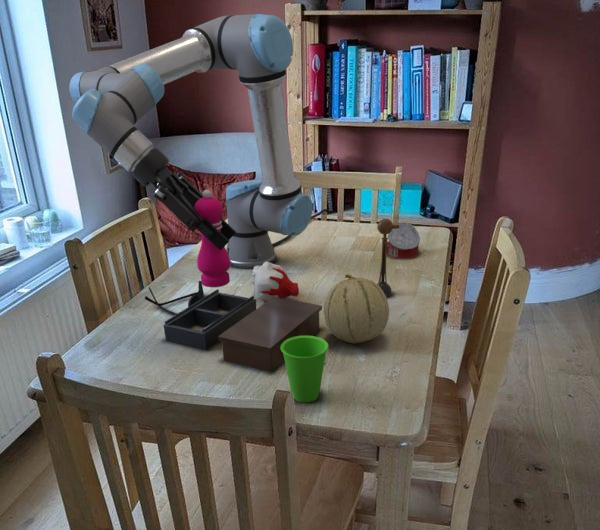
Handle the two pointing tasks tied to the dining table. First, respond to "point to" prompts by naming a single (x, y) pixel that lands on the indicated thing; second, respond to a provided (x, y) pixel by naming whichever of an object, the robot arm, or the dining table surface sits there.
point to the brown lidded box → (268, 332)
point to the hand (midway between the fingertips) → (228, 241)
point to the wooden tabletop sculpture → (385, 228)
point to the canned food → (403, 242)
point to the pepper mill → (212, 245)
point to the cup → (304, 365)
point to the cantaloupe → (356, 310)
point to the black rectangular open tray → (207, 319)
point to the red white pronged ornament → (272, 282)
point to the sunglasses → (193, 299)
